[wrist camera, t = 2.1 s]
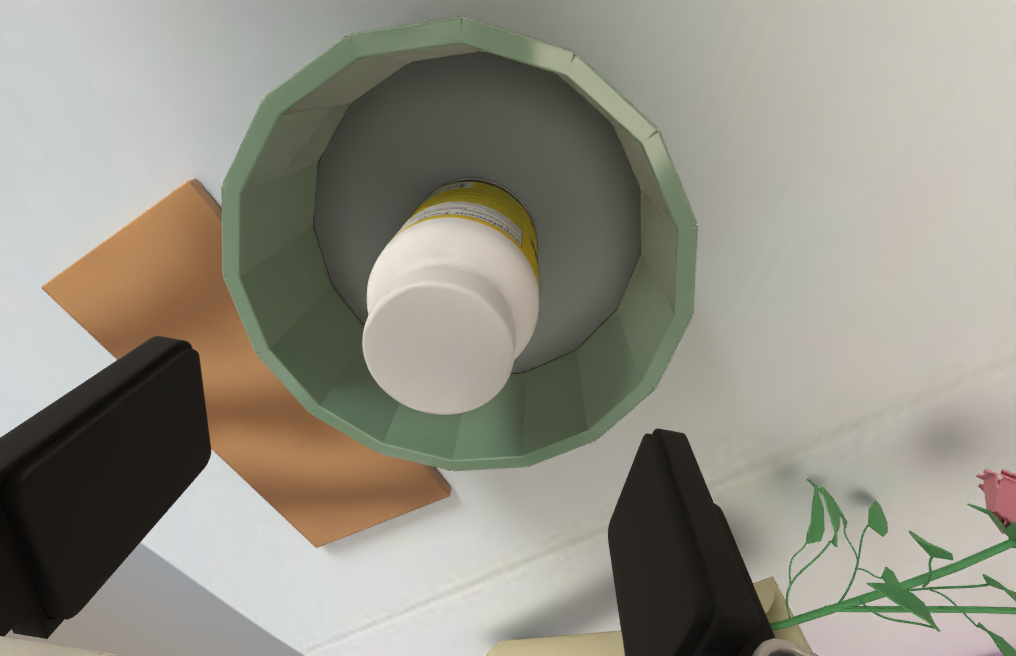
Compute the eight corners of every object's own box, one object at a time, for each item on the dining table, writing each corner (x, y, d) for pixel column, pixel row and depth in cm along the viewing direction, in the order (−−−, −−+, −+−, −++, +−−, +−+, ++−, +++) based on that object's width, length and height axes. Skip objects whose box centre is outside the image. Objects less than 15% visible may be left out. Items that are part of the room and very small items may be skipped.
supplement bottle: (508, 313, 23) (490, 462, 14) (398, 267, 22) (308, 395, 13) (560, 208, 21) (577, 310, 12) (439, 152, 20) (362, 217, 11)
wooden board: (51, 282, 23) (39, 287, 23) (196, 177, 21) (187, 180, 20) (319, 540, 31) (316, 548, 31) (452, 488, 28) (450, 496, 28)
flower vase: (507, 522, 40) (1065, 300, 21) (597, 637, 41) (1221, 523, 21) (427, 656, 30) (1347, 467, 11) (547, 805, 31) (1621, 872, 12)
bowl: (227, 169, 21) (118, 204, 15) (551, -61, 16) (557, -124, 11) (429, 426, 26) (402, 516, 21) (707, 303, 22) (760, 377, 17)
